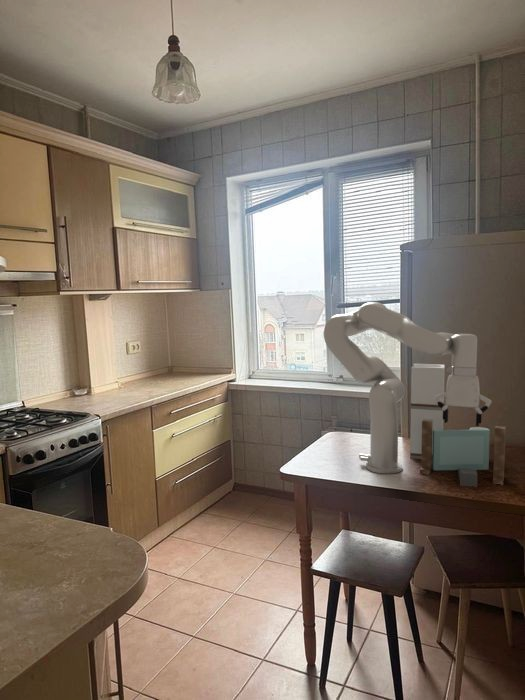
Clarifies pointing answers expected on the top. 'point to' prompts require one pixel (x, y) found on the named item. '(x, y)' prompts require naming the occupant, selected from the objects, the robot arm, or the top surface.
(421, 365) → the white block
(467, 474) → the block
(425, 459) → the door frame
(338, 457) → the top surface
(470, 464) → the door
